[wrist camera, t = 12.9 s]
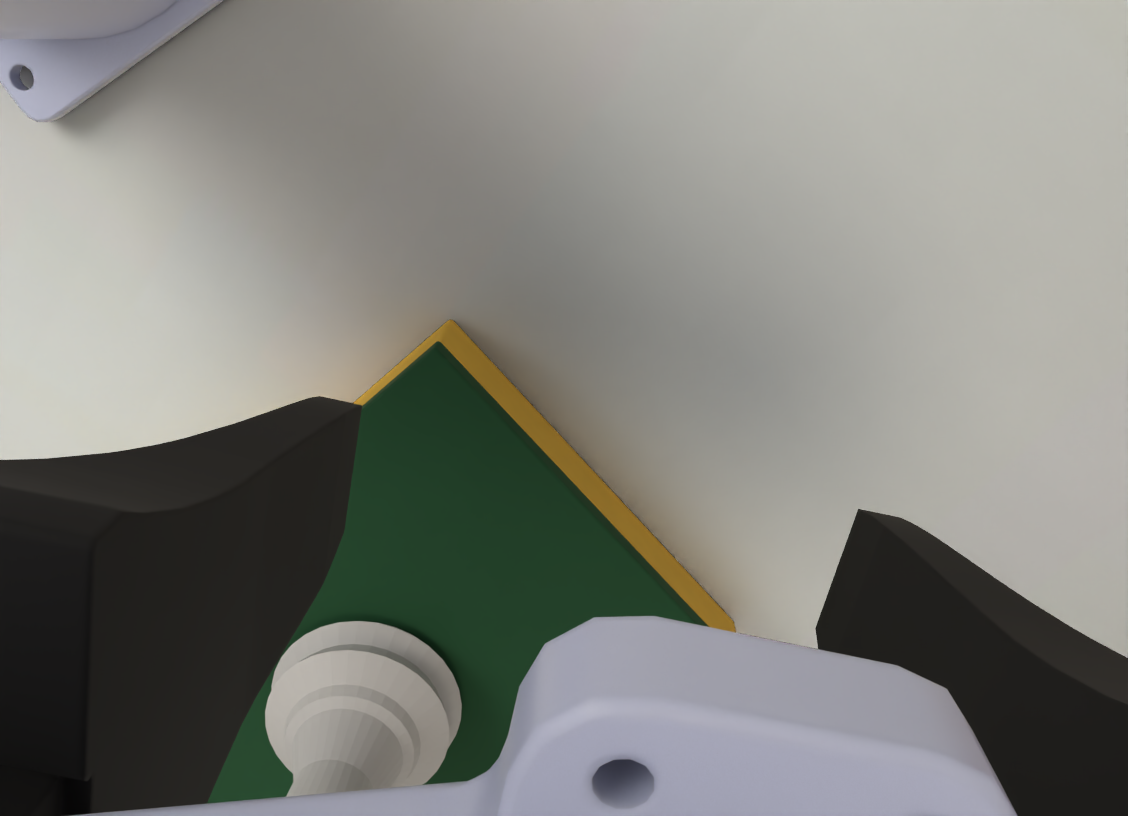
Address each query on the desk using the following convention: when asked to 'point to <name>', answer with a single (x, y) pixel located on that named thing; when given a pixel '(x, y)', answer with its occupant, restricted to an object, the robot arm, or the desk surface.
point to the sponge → (472, 550)
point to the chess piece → (361, 709)
